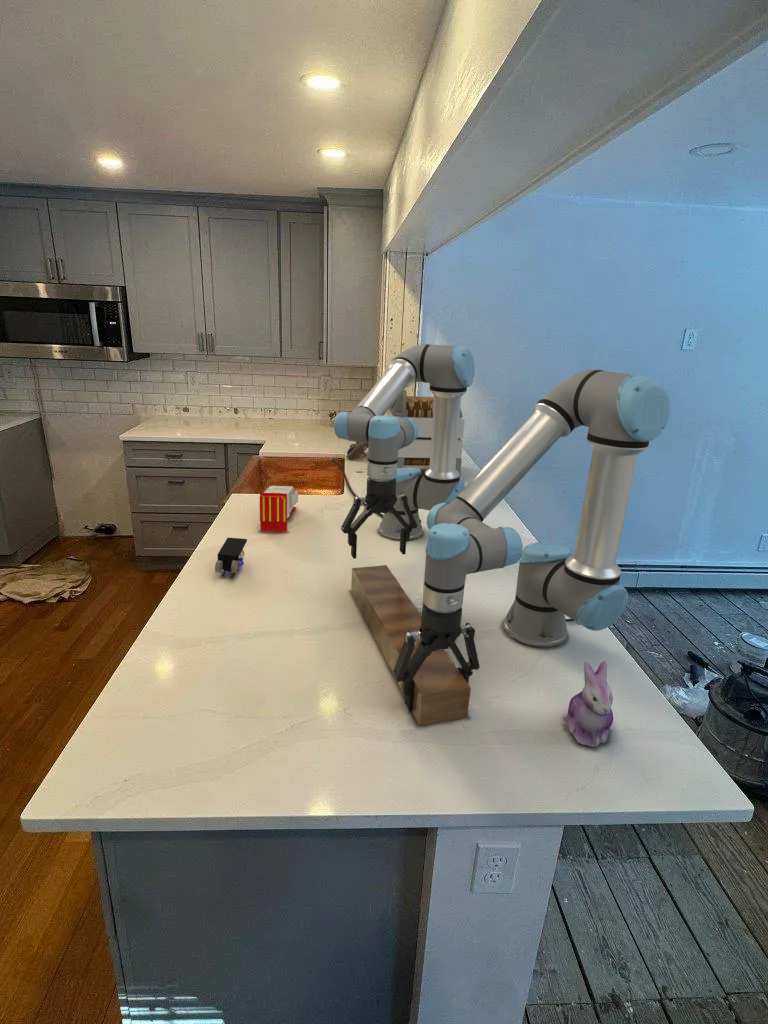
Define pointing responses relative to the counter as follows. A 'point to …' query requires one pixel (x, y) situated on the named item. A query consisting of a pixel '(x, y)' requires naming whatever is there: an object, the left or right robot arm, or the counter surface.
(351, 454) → the fossil
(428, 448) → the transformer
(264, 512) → the toy
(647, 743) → the counter surface
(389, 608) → the wide beam
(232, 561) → the figurine character
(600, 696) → the figurine
